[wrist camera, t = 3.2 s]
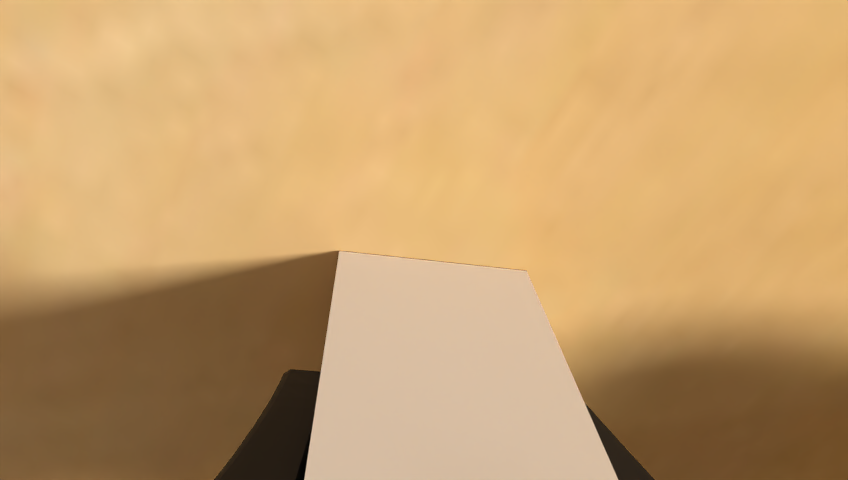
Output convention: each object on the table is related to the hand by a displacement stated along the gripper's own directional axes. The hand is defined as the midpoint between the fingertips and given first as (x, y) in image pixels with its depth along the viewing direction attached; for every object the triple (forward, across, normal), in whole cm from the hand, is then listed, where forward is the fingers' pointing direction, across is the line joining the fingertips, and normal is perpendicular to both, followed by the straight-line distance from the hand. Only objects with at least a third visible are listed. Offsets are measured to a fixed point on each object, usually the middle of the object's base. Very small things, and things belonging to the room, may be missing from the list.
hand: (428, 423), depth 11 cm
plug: (+3, 0, 0) cm, 3 cm away
